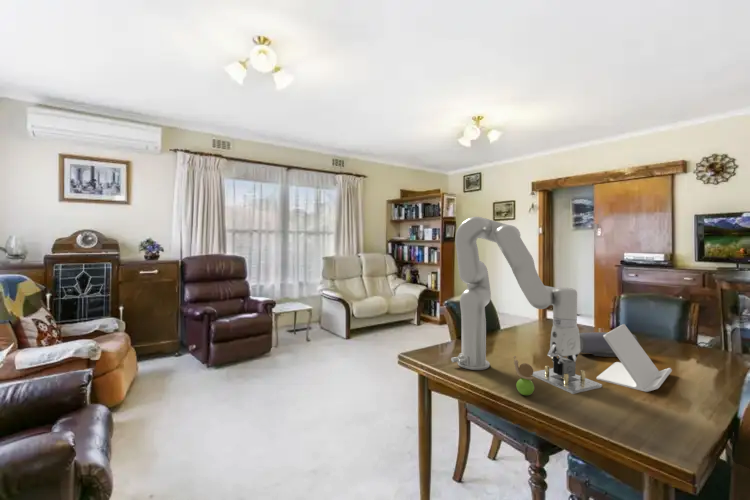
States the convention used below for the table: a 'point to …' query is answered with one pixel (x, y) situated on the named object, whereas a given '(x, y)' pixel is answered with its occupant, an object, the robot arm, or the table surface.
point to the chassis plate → (567, 381)
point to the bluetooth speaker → (596, 344)
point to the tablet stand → (631, 363)
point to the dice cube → (567, 367)
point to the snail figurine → (524, 378)
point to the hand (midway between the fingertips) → (564, 372)
